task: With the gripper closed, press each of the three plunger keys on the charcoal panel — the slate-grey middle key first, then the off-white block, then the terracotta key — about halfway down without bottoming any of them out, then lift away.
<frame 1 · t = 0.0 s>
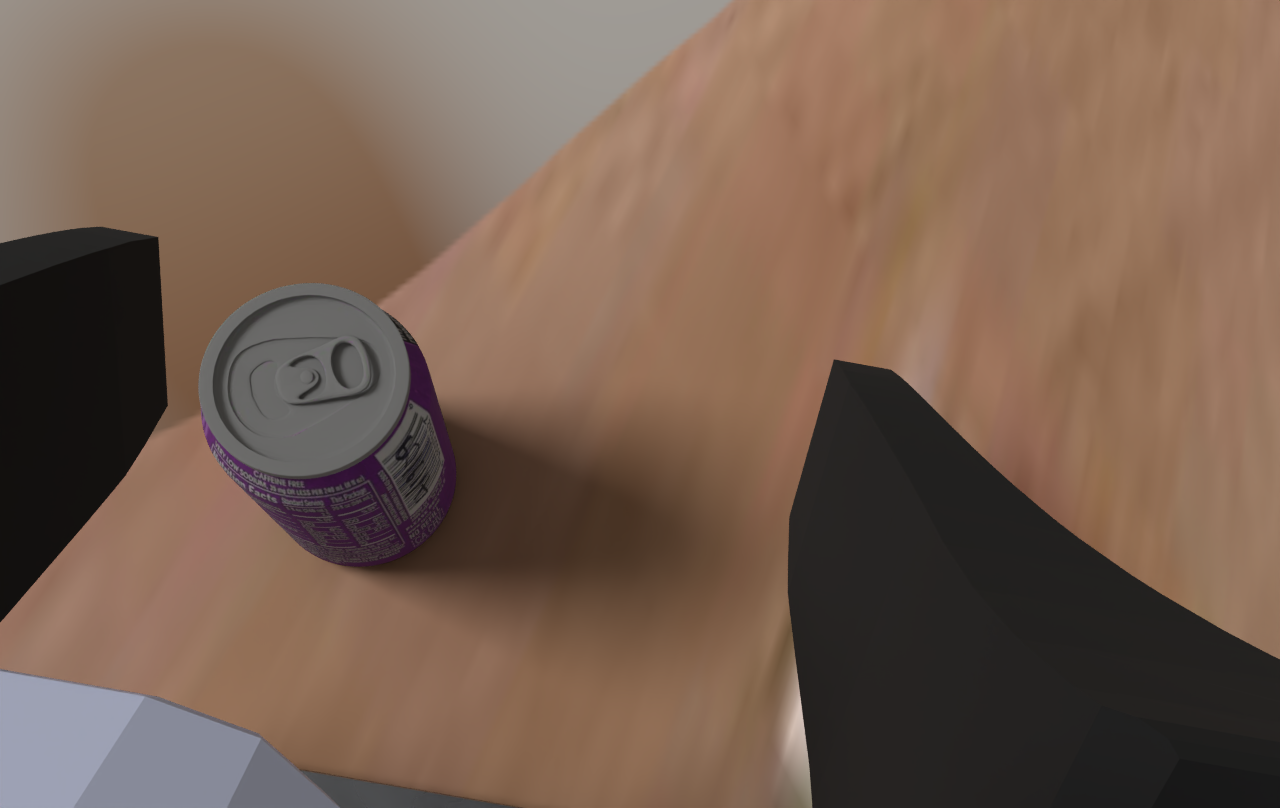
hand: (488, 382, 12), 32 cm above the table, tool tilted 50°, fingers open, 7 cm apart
beverage can: (369, 483, 44), on the table
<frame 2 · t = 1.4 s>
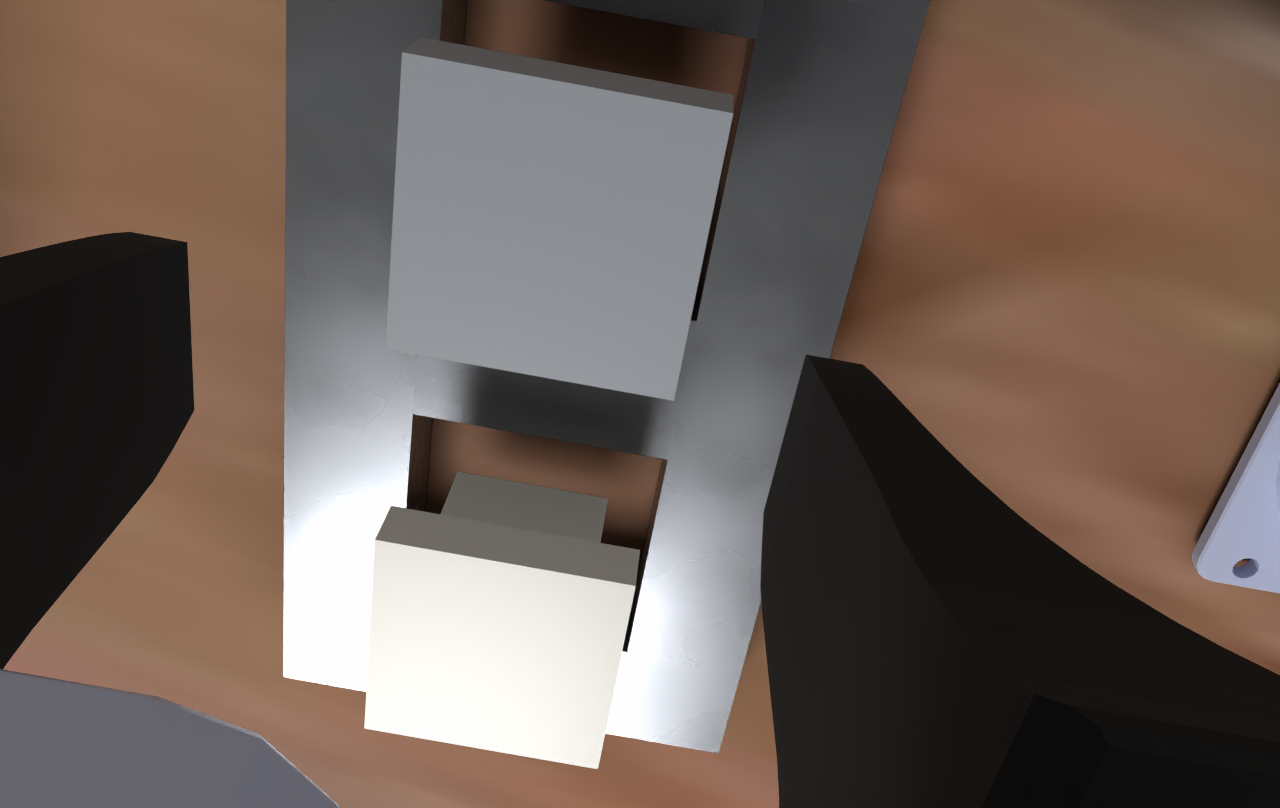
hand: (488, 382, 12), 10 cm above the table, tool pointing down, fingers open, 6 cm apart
off-white block: (509, 599, 21), point 4 cm above the table, slide at 0.0 cm
panel: (591, 130, 20), on the table
grey key: (563, 199, 17), point 4 cm above the table, slide at 0.0 cm
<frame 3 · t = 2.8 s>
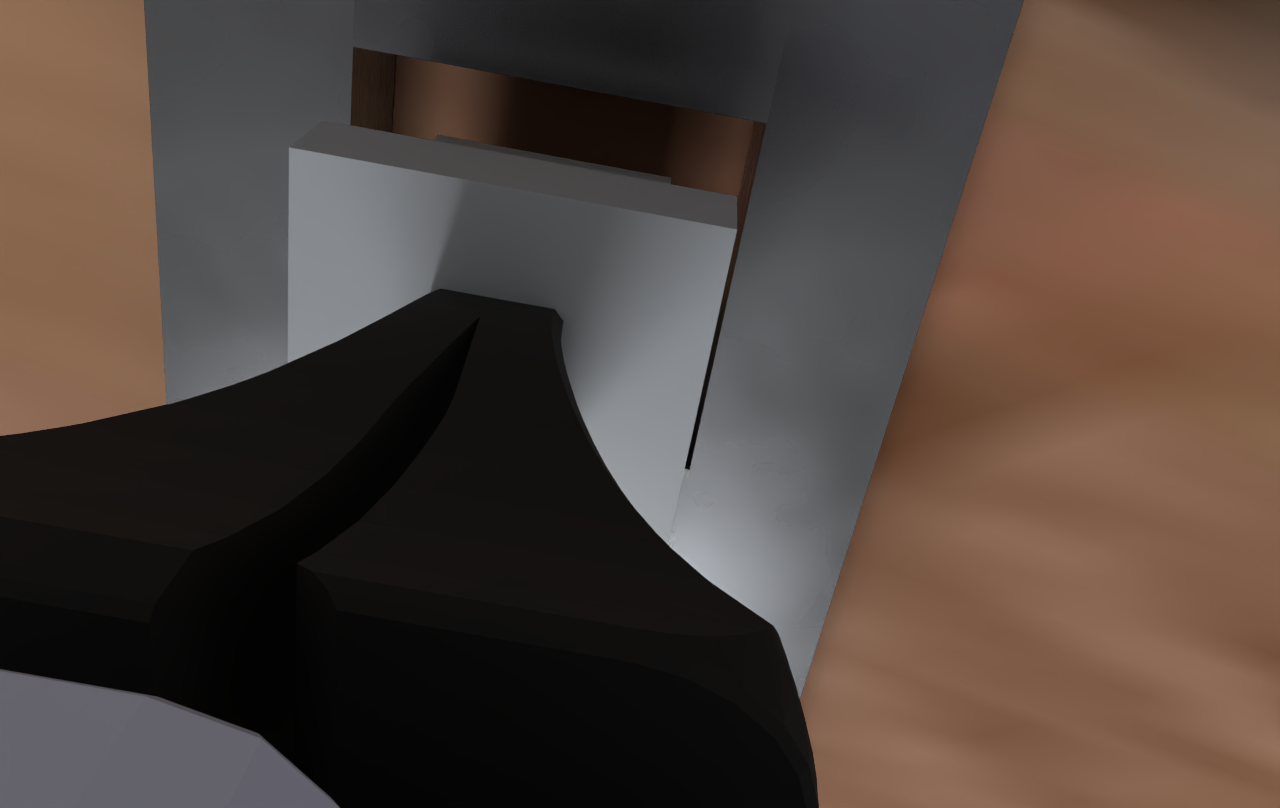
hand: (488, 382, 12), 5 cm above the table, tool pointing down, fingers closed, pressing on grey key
panel: (557, 223, 16), on the table
grey key: (519, 318, 13), point 3 cm above the table, slide at 0.6 cm, touching gripper
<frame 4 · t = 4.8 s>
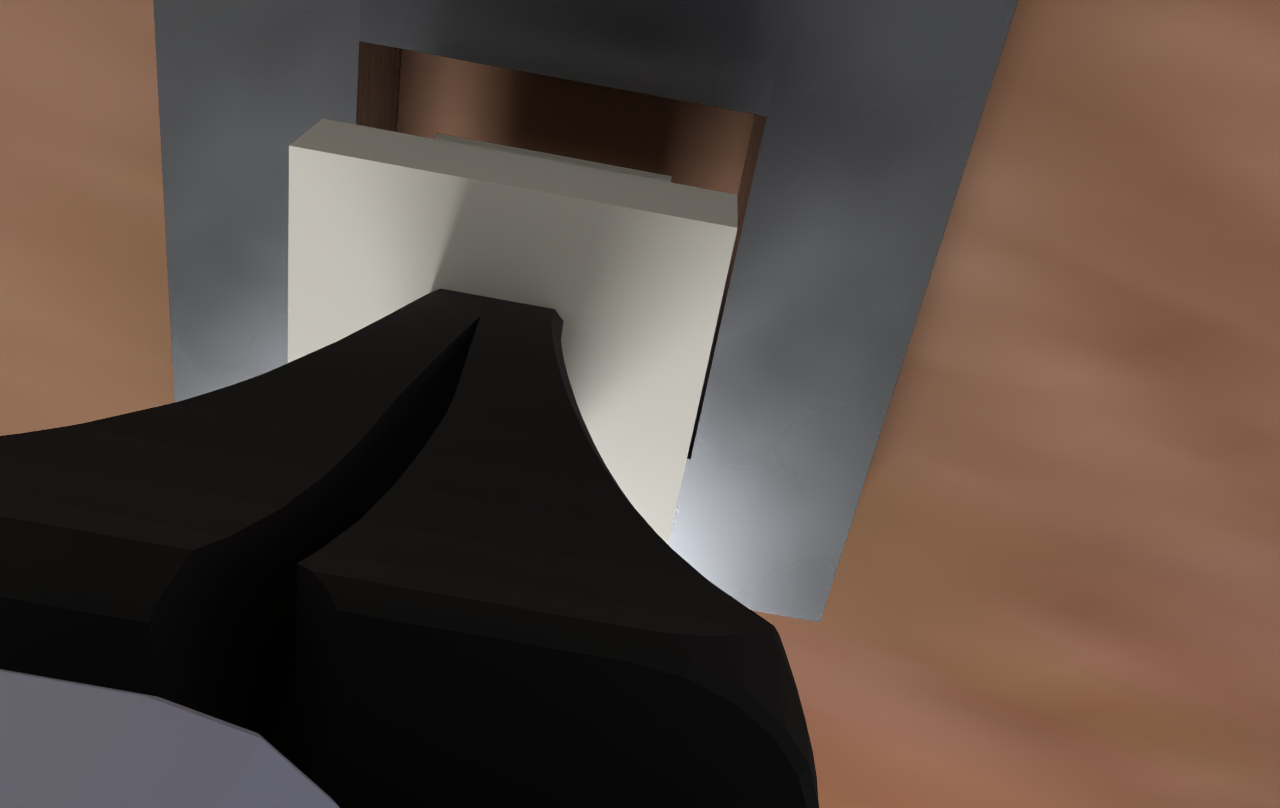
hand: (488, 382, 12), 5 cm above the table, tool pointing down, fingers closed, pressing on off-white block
off-white block: (519, 316, 13), point 4 cm above the table, slide at 0.4 cm, touching gripper
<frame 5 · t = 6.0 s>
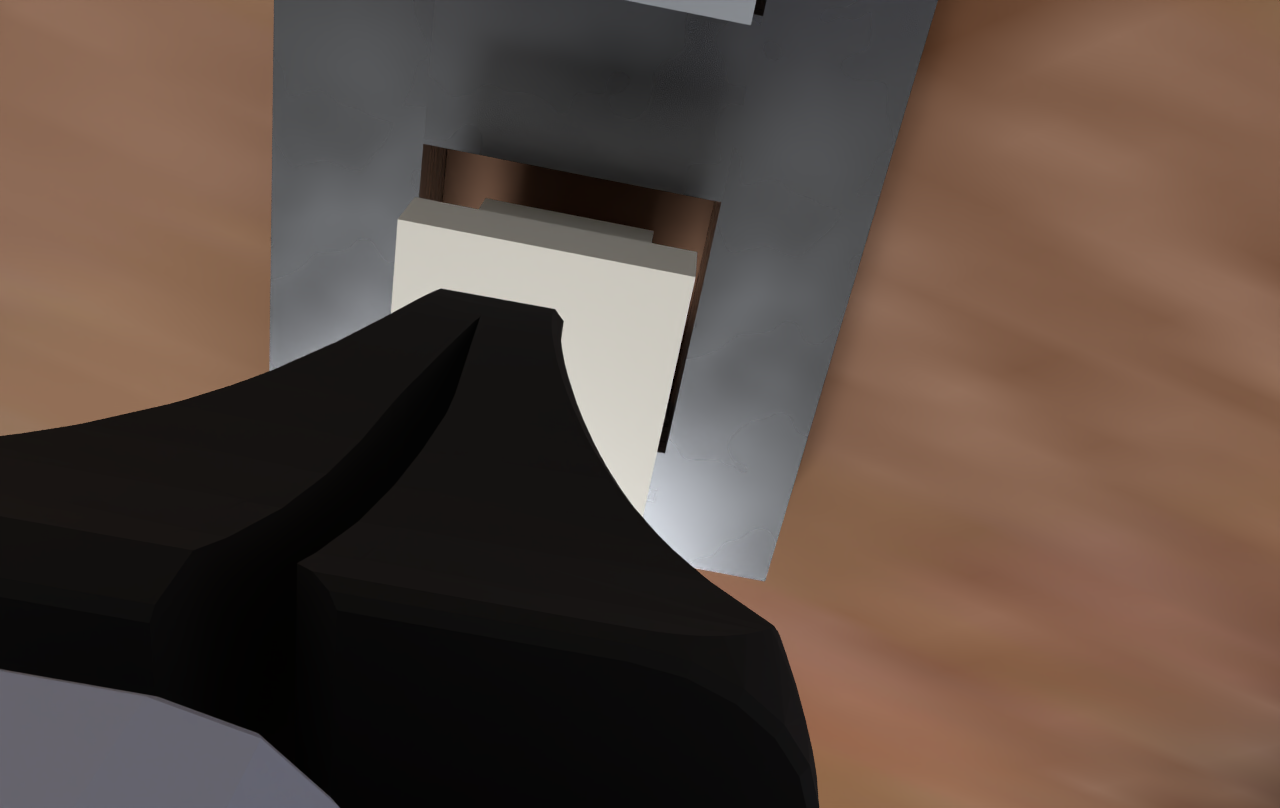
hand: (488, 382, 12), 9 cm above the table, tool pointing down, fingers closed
off-white block: (544, 332, 19), point 3 cm above the table, slide at 1.0 cm
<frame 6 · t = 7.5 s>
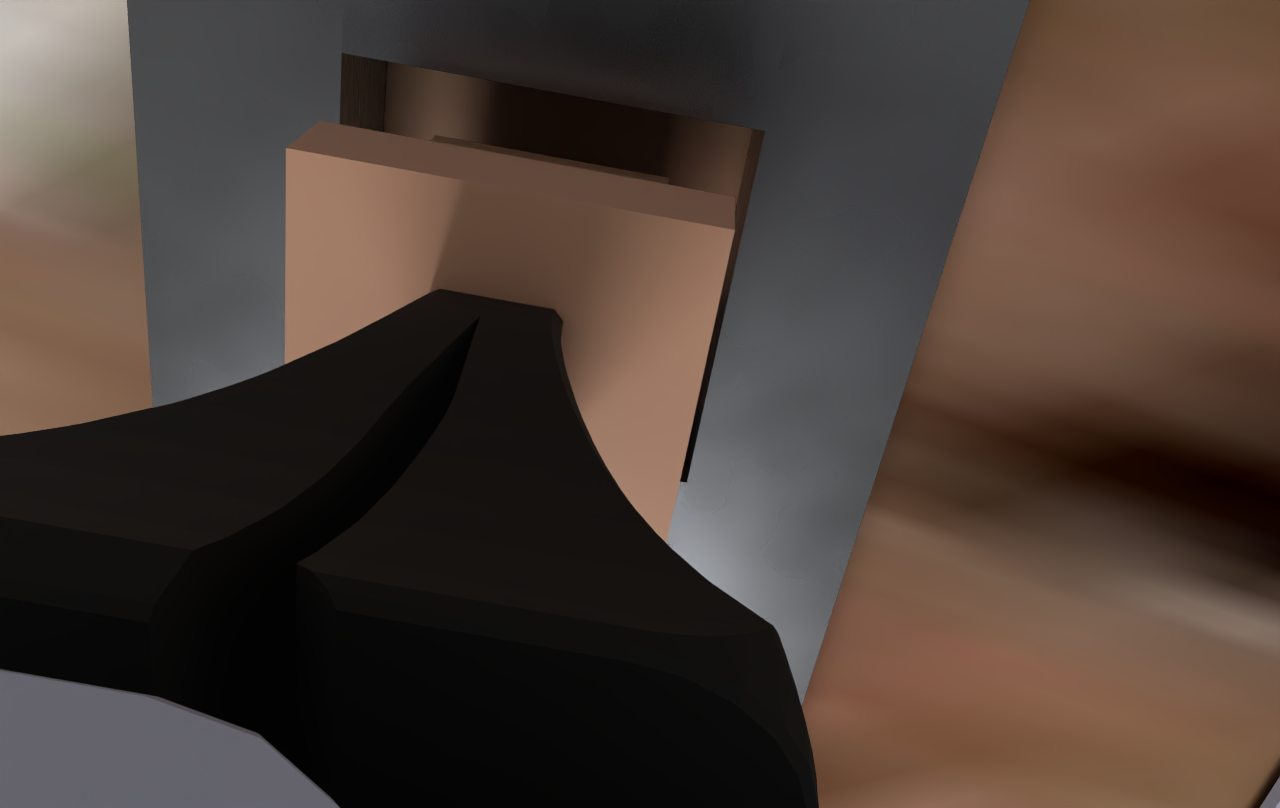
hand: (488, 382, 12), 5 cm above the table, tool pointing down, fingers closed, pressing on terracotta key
panel: (497, 649, 20), on the table
terracotta key: (516, 318, 13), point 3 cm above the table, slide at 0.9 cm, touching gripper
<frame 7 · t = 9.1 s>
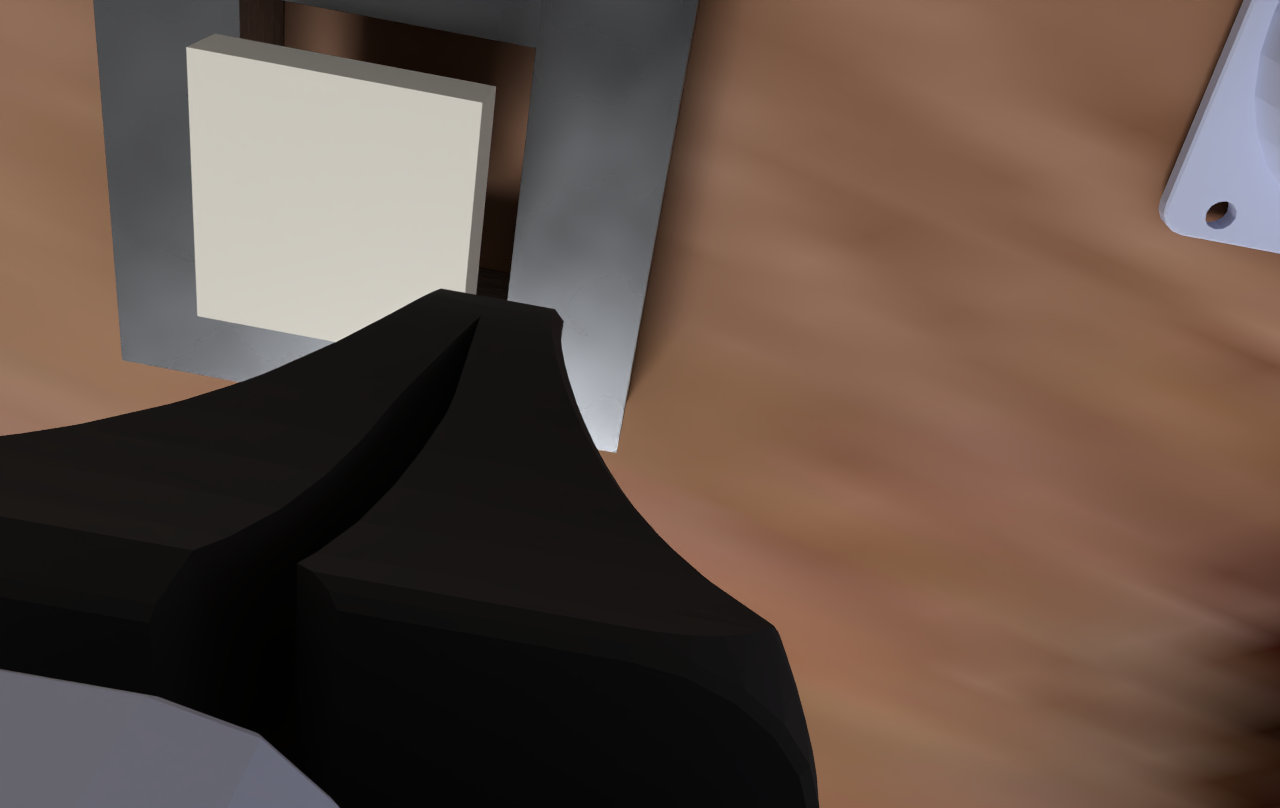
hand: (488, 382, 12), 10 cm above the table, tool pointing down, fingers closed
off-white block: (364, 182, 19), point 3 cm above the table, slide at 1.0 cm
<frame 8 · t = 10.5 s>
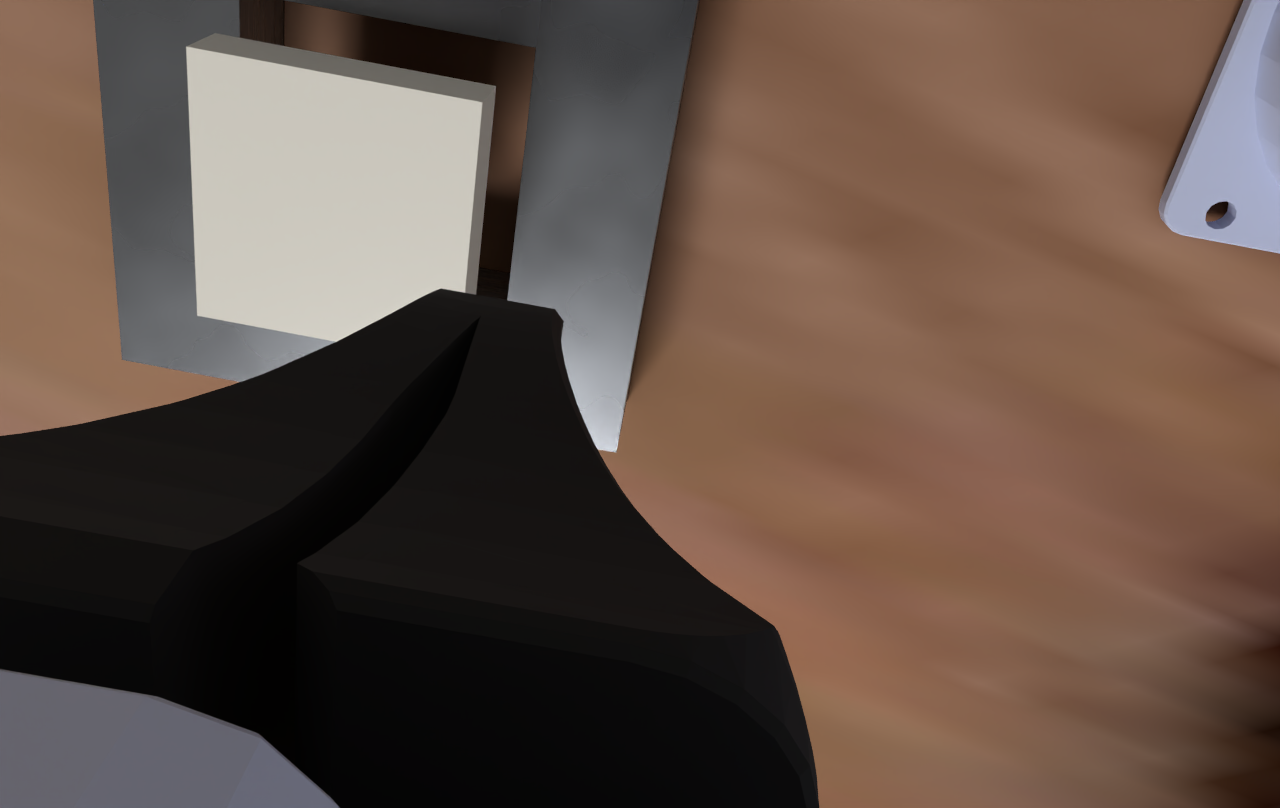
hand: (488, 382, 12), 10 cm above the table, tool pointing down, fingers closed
off-white block: (364, 181, 19), point 3 cm above the table, slide at 1.0 cm
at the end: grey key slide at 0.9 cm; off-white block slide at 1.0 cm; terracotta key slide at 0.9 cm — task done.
